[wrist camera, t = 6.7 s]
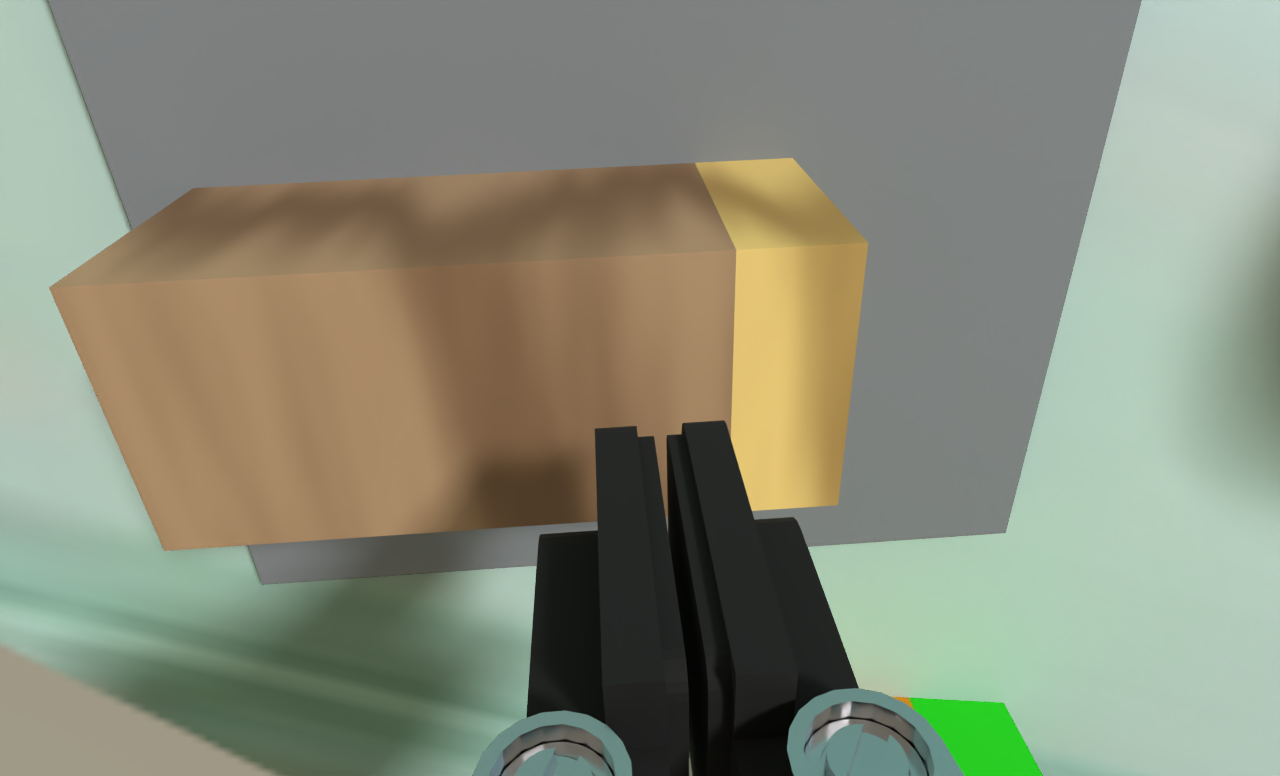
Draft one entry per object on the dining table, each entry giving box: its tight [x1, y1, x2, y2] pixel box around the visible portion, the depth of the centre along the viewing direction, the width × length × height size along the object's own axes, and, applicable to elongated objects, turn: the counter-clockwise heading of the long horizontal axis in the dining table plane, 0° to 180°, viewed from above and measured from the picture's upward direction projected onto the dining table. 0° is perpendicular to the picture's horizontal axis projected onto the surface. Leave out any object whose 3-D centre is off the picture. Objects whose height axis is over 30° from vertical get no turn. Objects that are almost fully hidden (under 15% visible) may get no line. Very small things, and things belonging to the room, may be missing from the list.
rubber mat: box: [48, 0, 1142, 585], centre depth 18 cm, size 20×16×1 cm
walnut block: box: [49, 158, 868, 551], centre depth 15 cm, size 5×5×12 cm
